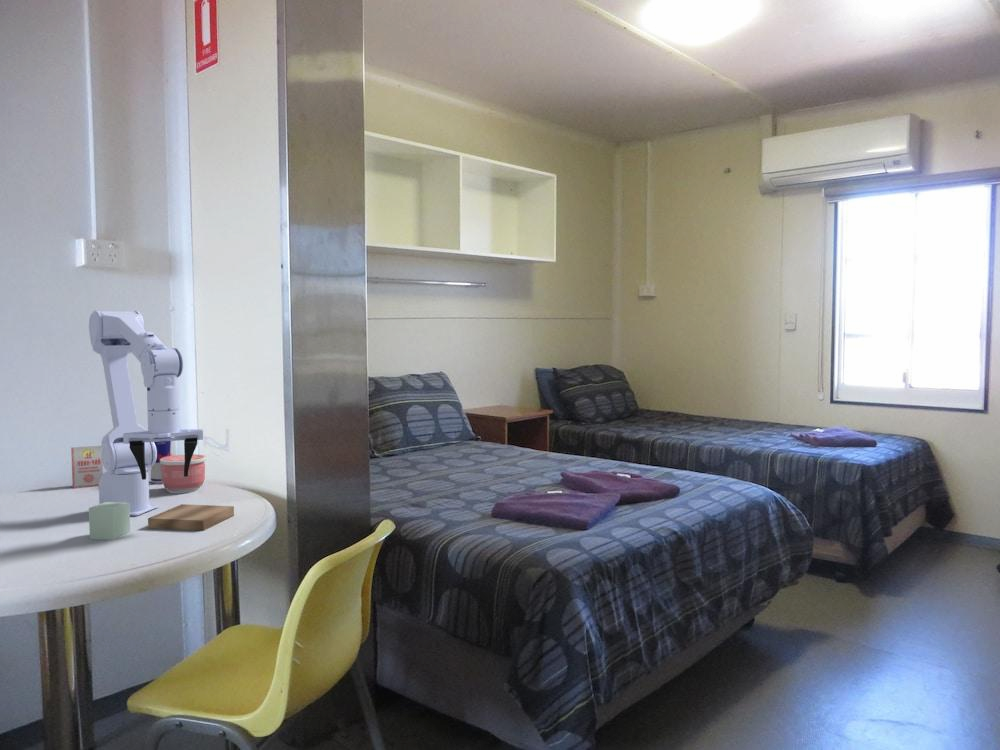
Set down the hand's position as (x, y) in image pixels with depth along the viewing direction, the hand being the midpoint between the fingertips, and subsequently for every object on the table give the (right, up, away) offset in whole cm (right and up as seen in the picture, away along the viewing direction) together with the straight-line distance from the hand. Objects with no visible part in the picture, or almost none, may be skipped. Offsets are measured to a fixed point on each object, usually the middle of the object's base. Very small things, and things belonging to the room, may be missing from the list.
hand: (165, 477), depth 153 cm
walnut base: (+3, -10, +5) cm, 12 cm away
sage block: (-8, -11, -5) cm, 14 cm away
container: (-11, -8, +36) cm, 39 cm away
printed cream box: (-38, -8, +41) cm, 56 cm away
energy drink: (-21, -8, +46) cm, 51 cm away
